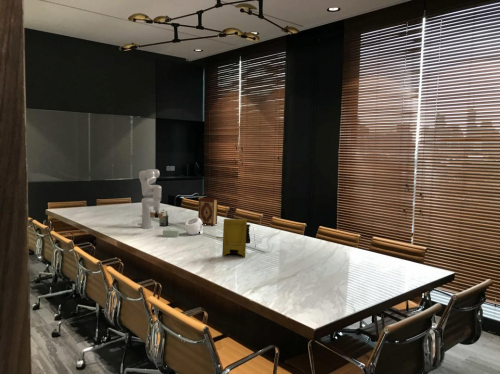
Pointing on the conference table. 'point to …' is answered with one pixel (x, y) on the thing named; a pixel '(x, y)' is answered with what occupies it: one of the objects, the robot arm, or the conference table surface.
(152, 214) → the wooden staple shape
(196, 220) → the skull planter
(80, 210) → the conference table surface
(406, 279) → the conference table surface
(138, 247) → the conference table surface
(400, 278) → the conference table surface
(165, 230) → the pale green box
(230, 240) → the olive boxy piece
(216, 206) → the decorative book
